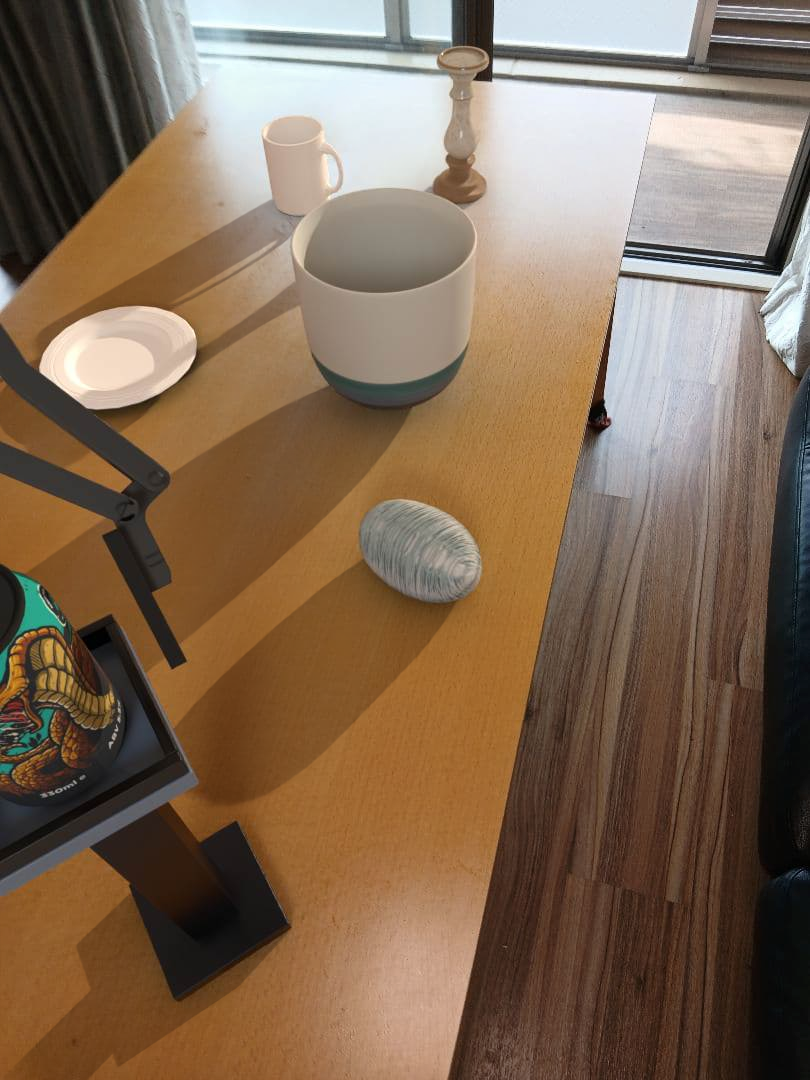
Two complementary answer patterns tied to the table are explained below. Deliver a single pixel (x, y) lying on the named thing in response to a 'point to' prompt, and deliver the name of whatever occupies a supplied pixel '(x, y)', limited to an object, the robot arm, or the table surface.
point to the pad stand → (151, 839)
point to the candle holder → (461, 127)
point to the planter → (386, 293)
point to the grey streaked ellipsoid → (420, 551)
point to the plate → (120, 356)
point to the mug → (298, 163)
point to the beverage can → (50, 701)
